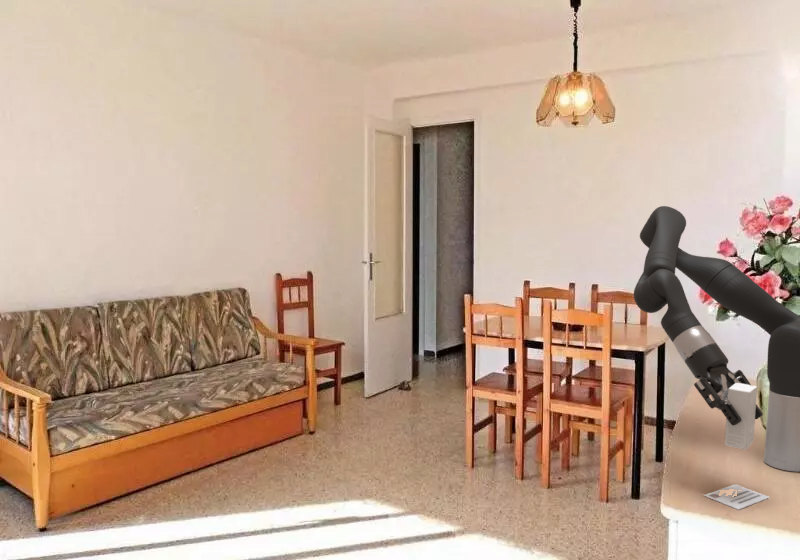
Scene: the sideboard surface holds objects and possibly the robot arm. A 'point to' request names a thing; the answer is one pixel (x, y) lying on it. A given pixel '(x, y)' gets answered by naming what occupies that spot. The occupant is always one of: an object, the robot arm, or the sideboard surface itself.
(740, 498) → the letter
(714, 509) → the sideboard surface
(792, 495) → the sideboard surface
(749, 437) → the skincare box
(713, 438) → the sideboard surface
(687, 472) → the sideboard surface
